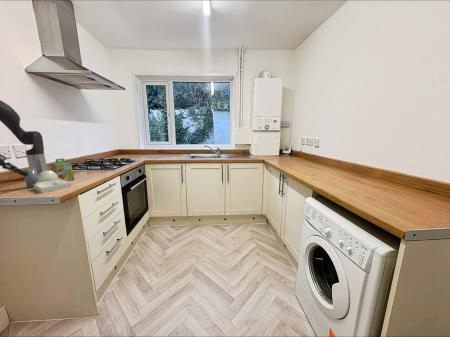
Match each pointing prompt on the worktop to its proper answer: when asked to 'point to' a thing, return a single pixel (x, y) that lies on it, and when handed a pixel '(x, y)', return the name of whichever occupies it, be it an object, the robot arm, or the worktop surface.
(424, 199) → the worktop surface
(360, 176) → the worktop surface
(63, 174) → the chalk box
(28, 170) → the grey domed cylinder
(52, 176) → the white divided tray
